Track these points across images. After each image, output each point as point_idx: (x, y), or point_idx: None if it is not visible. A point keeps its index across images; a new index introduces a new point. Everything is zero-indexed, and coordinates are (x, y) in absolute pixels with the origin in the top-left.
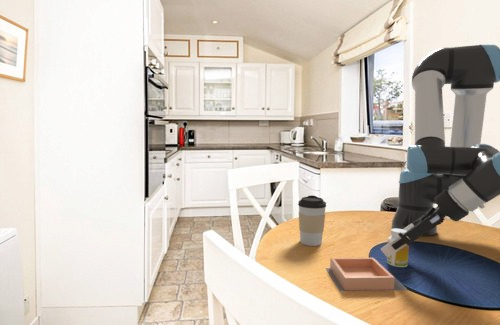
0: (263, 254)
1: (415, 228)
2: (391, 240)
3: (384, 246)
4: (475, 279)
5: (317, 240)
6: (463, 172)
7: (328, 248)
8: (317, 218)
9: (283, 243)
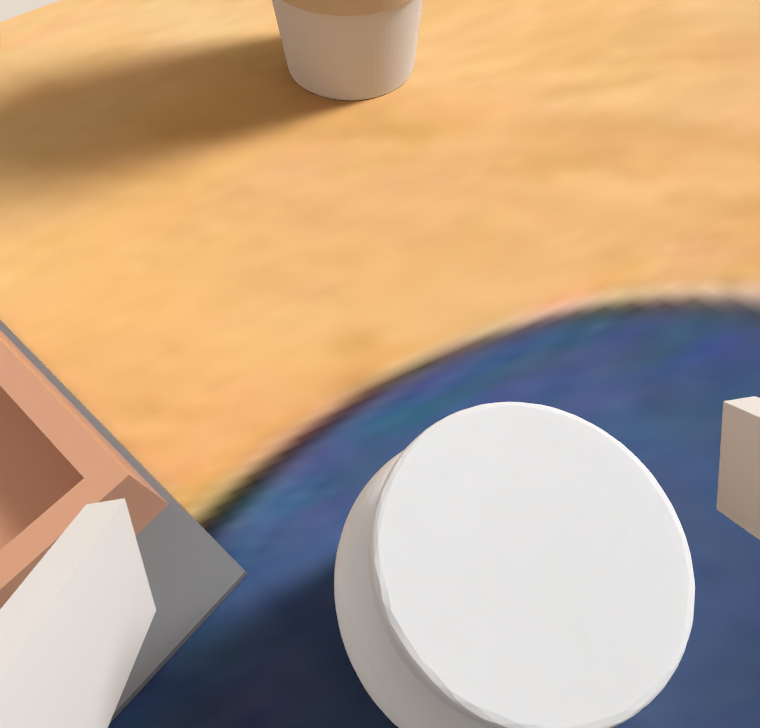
0: (11, 29)
1: None
2: (351, 518)
3: (54, 547)
4: None
5: (324, 65)
6: None
7: (336, 149)
8: None
9: (221, 8)
